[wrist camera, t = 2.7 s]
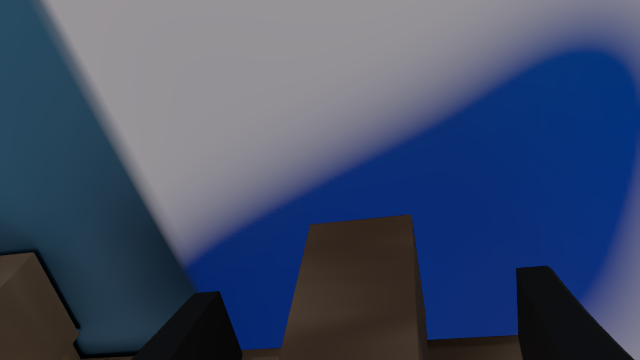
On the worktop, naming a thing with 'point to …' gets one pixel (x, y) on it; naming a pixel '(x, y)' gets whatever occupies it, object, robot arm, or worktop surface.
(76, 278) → the worktop surface
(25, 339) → the oak tray
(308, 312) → the walnut tray
